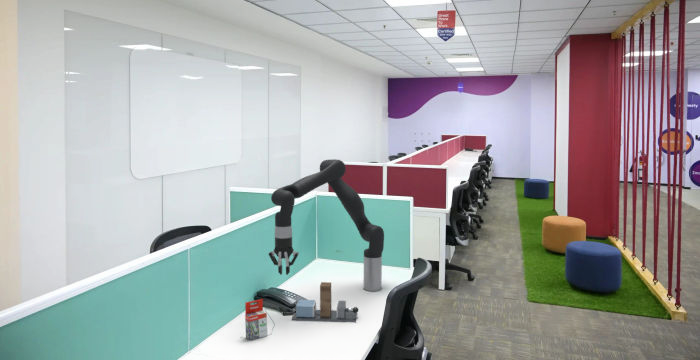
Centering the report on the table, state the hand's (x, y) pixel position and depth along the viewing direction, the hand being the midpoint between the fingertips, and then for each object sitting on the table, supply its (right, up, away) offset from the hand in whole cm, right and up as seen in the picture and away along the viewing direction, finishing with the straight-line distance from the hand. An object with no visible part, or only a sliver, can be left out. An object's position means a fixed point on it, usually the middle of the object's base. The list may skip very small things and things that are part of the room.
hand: (284, 274), depth 220 cm
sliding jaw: (+10, -18, +2) cm, 20 cm away
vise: (+18, -19, +1) cm, 26 cm away
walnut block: (+18, -18, +1) cm, 26 cm away
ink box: (-8, -22, -19) cm, 30 cm away
